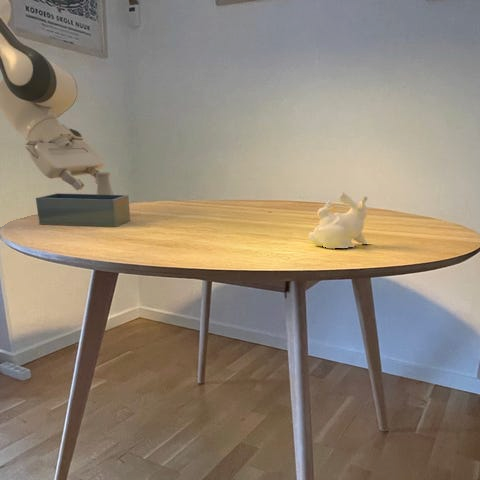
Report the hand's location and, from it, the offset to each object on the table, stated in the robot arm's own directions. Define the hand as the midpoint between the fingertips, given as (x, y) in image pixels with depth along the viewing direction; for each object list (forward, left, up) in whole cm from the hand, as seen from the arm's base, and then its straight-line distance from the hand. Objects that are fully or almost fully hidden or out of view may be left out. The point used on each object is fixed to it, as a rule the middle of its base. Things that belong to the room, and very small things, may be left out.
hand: (92, 186), depth 111 cm
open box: (+2, -10, -7) cm, 12 cm away
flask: (+3, 0, -7) cm, 8 cm away
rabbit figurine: (+57, -26, -7) cm, 63 cm away
